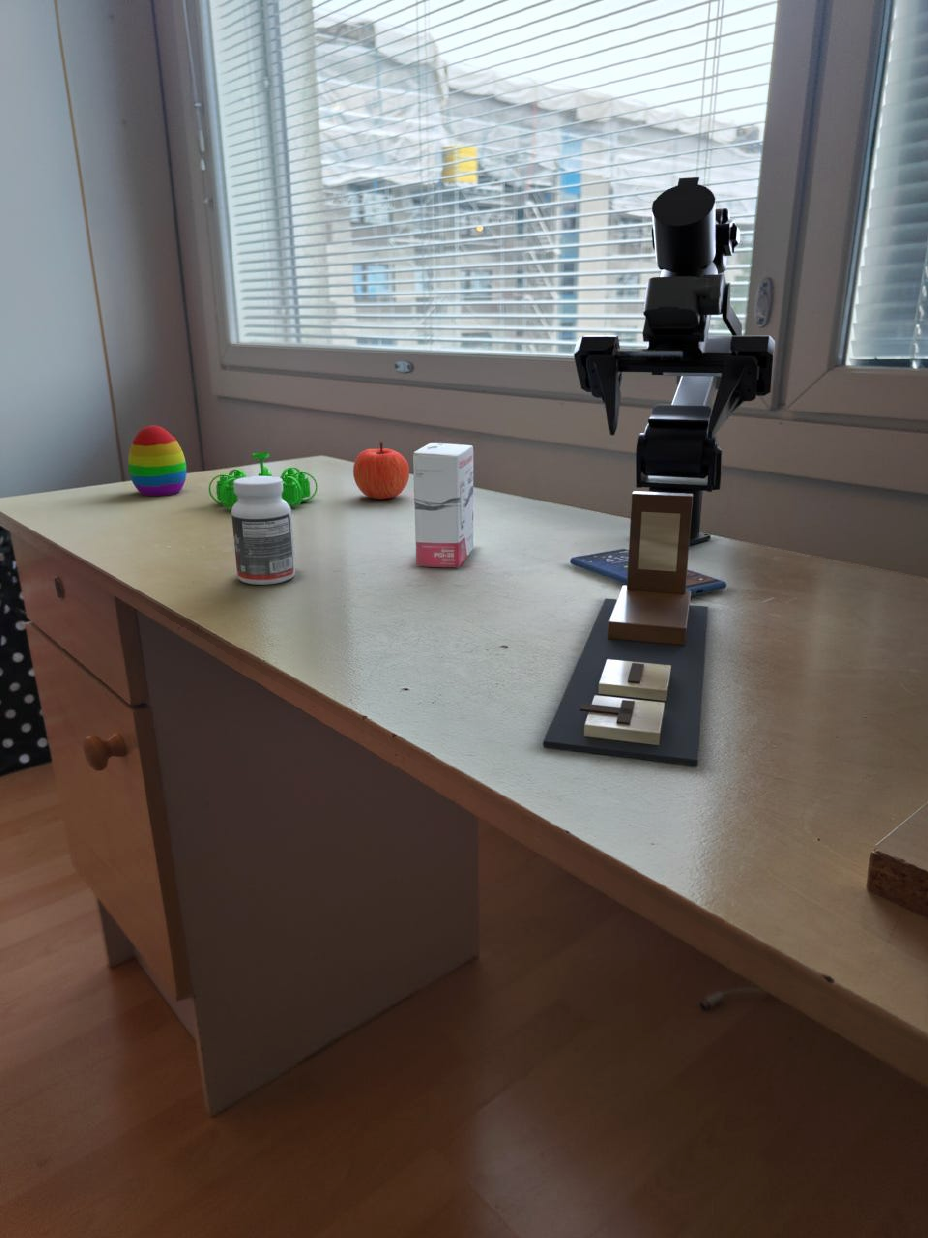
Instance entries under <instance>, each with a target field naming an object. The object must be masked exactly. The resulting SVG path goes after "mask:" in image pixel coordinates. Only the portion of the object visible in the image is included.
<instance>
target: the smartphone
mask: <svg viewBox="0 0 928 1238" xmlns="http://www.w3.org/2000/svg"><path fill="white" fill-rule="evenodd" d="M628 558H629V549H626V548H620V549H613V550H608V551H602V552H597V553H590V554H583V555H579V556H573V557H571V558H570V564H571V565H573V566H576V567H579V568H581V569H583V570H586V571H589V572H592V573H594V574H596V575H600V576H602V577H604V578H608V579H610V580H613V581H615V582H618V583H620V584H623V585H625V586H627V575H628ZM726 587H727V583H726V581H724V580H721V579H719V578H715V577H713V576H709V575H706V574H703V573H700V572H697V571H694V570H690V569H688V568H687V580H686V590H689V591H691V597H692V596H697V595H702V594H706V593H711V592H715V591H720V590H721V591H722V590H724V589H725V588H726Z"/></svg>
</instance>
